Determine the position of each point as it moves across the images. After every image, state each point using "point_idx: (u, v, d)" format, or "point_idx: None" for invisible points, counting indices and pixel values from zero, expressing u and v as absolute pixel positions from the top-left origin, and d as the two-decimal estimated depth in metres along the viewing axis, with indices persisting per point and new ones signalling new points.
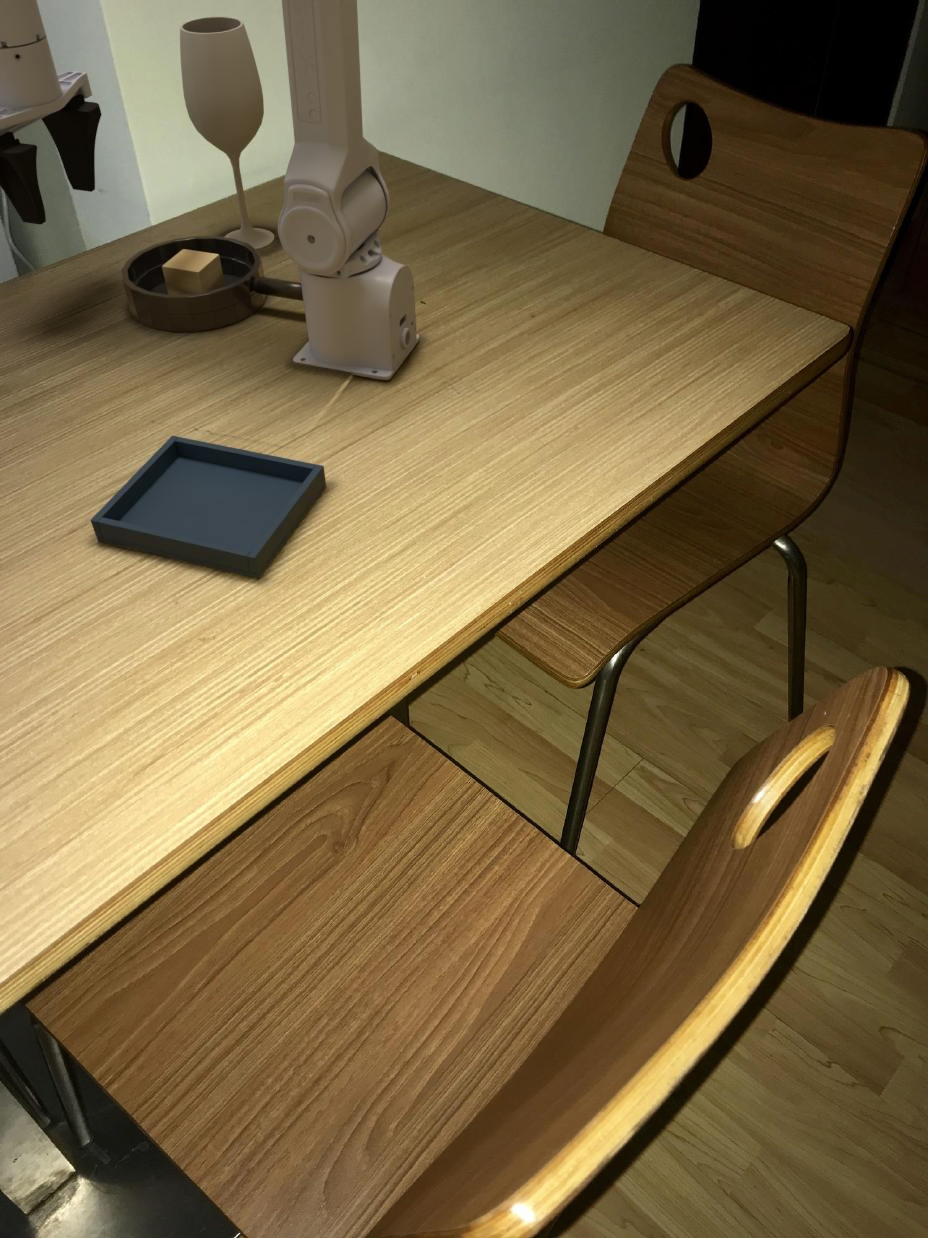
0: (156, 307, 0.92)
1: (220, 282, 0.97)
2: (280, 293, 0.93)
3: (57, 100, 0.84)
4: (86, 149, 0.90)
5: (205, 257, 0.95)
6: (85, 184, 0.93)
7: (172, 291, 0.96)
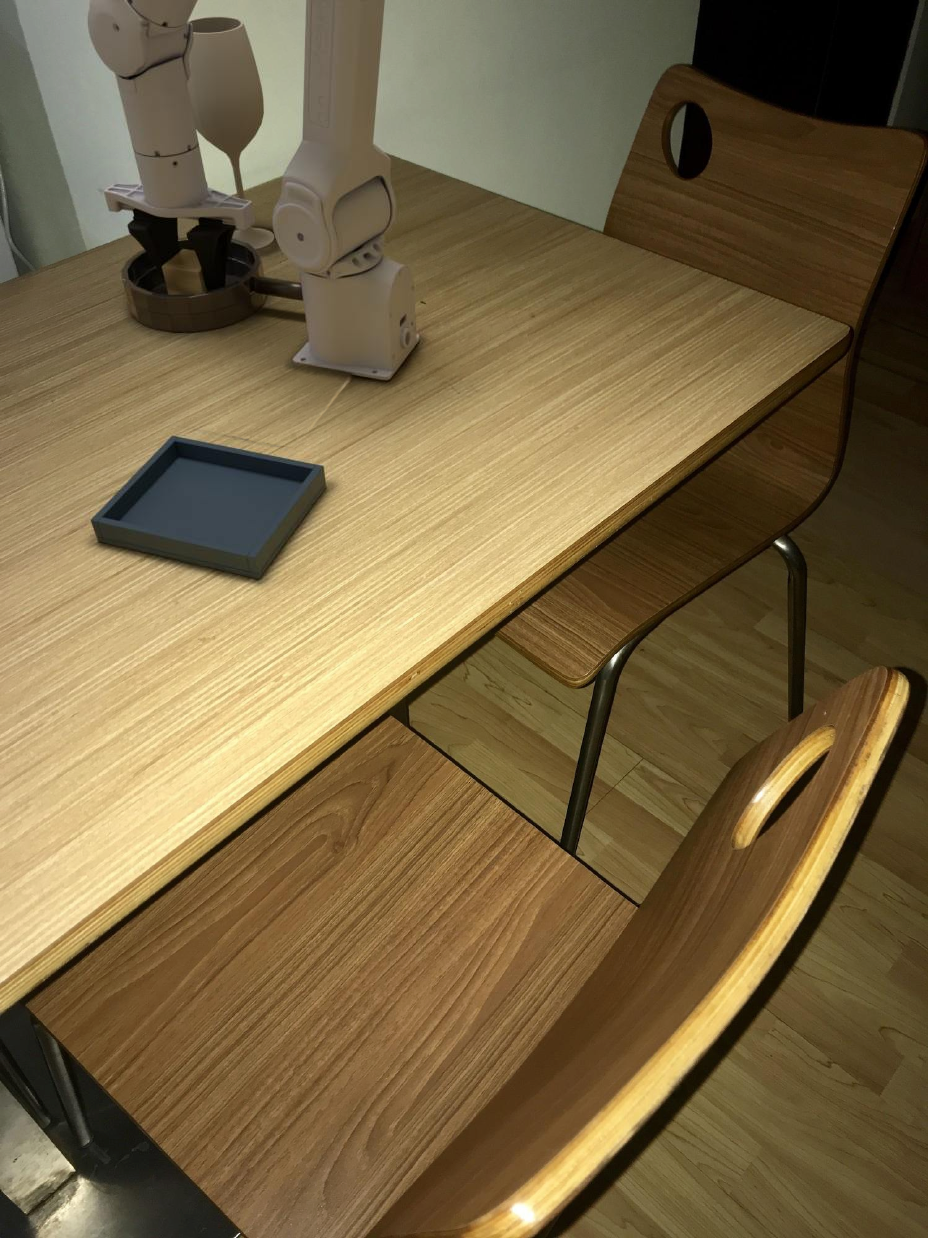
0: (156, 307, 0.92)
1: None
2: (280, 293, 0.93)
3: (160, 209, 0.89)
4: (200, 262, 0.93)
5: None
6: None
7: (172, 291, 0.96)
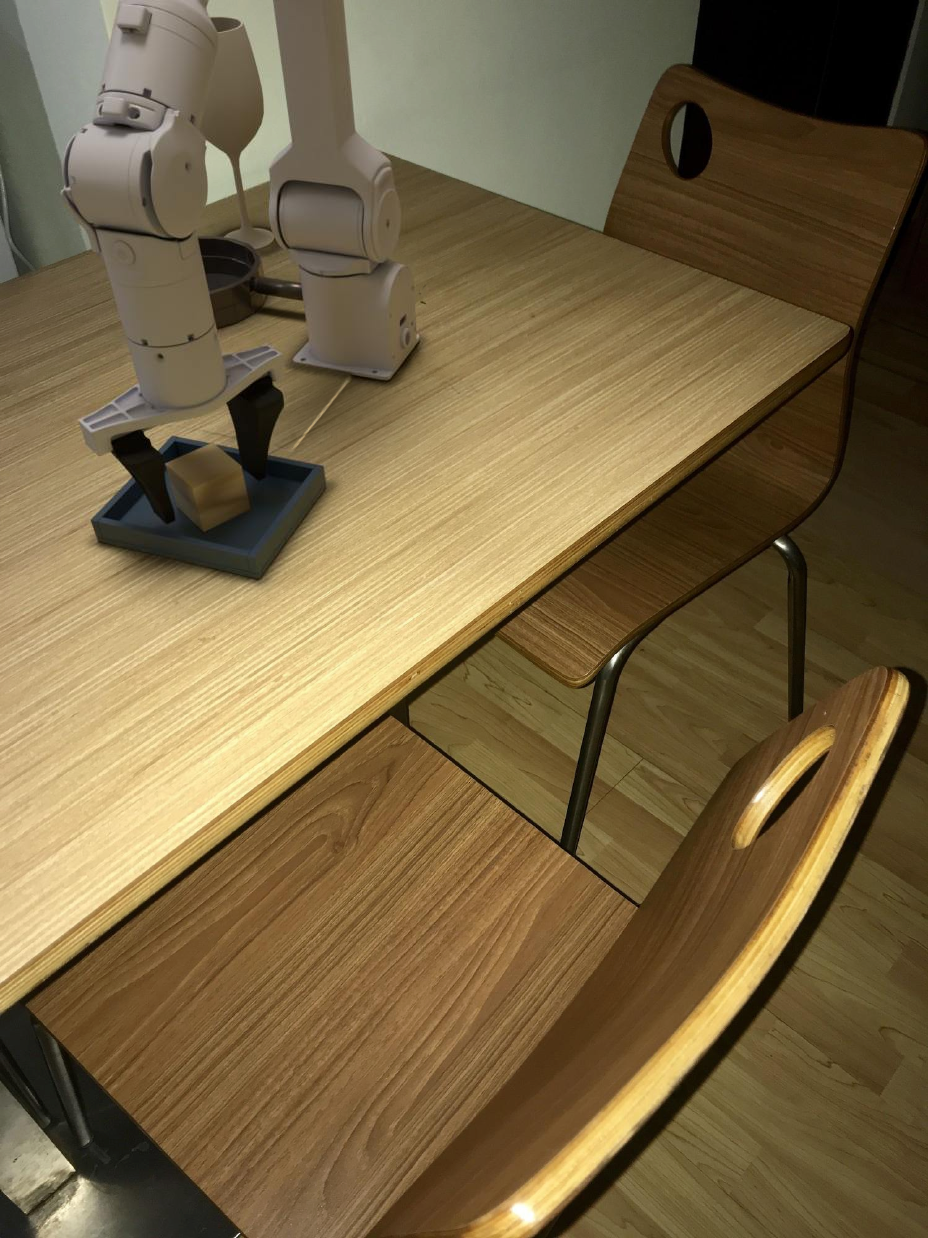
0: None
1: None
2: (280, 293, 0.93)
3: (208, 403, 0.65)
4: (256, 441, 0.71)
5: (209, 453, 0.72)
6: (253, 472, 0.74)
7: (207, 512, 0.71)
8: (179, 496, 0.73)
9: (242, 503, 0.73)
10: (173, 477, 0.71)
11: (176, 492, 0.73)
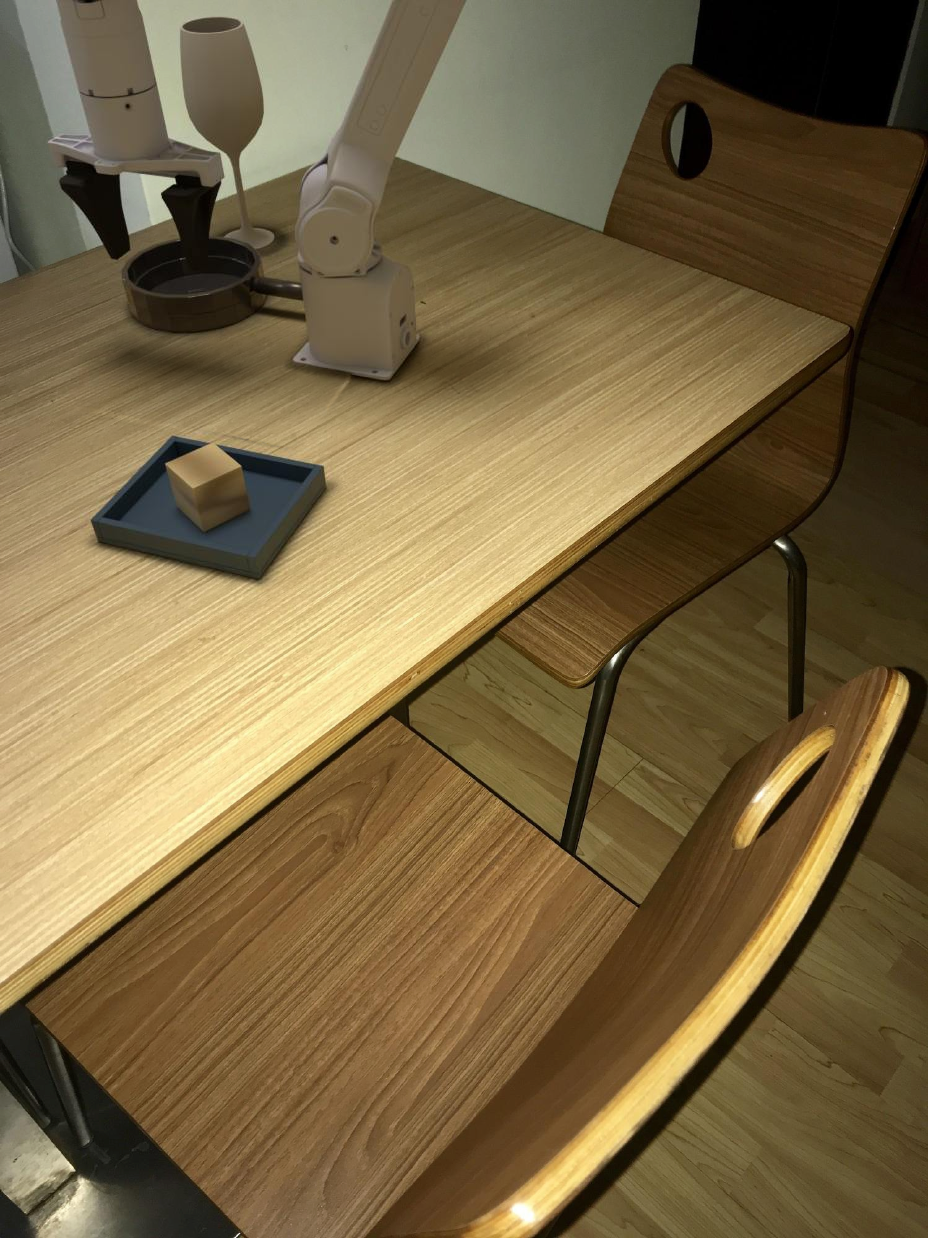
0: (156, 307, 0.92)
1: None
2: (280, 293, 0.93)
3: None
4: (121, 202, 0.83)
5: (209, 453, 0.72)
6: (126, 245, 0.85)
7: (207, 512, 0.71)
8: (179, 496, 0.73)
9: (242, 503, 0.73)
10: (173, 477, 0.71)
11: (176, 492, 0.73)
